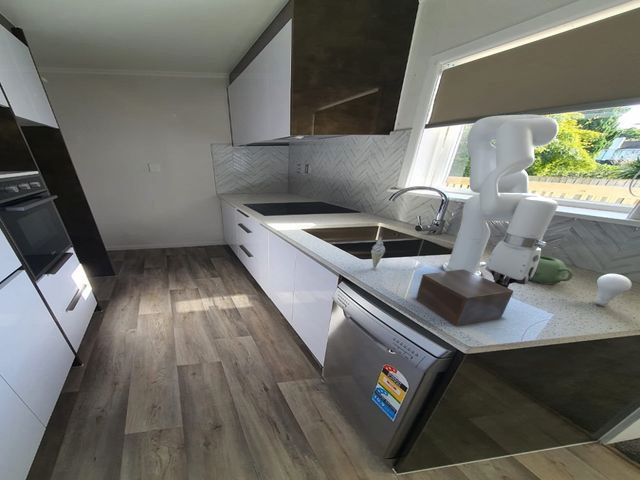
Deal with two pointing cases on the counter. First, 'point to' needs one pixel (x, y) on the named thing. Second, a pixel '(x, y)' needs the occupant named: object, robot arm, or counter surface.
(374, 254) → the ice cream cone
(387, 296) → the counter surface
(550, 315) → the counter surface
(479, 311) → the wooden box
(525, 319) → the counter surface
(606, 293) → the lightbulb
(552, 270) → the green rounded ceramic pot
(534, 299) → the counter surface
